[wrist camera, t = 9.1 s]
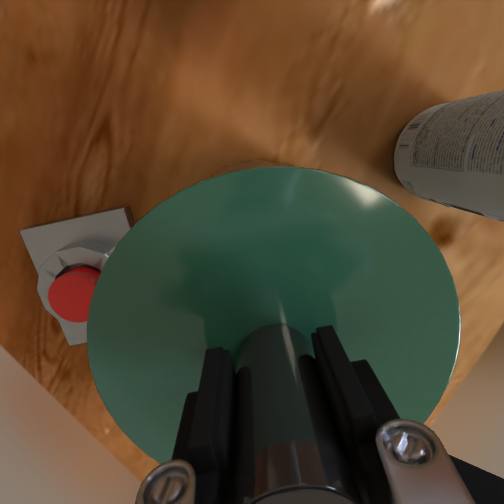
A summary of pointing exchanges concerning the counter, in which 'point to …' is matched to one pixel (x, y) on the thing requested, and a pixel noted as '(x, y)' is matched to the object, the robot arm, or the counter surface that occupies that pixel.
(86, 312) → the button
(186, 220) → the pot lid
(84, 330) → the grey mounting plate
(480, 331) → the counter surface
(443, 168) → the spray can
